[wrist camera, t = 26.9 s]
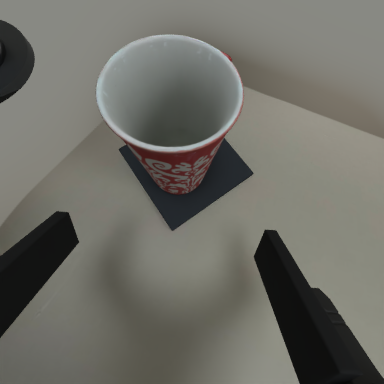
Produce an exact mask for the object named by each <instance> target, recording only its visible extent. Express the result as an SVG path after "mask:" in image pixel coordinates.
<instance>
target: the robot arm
mask: <svg viewBox="0 0 384 384" xmlns="http://www.w3.org/2000/svg"><path fill="white" fill-rule="evenodd" d="M4 58H5V46H4V44H3V42H2V40H1V39H0V66H1V65H2V63H3V61H4ZM78 243H79V241H78V238H77V235H76V232H75V229H74V226H73V224H72V221H71V218H70V215H69V212H59V211H56V212H55V213H54V214H53V215H51V216H50V217H49V218H48V219H46V220H45V221H44V222H43V223H41V224H40V225H39V226H38V227H36V228H35V229H34V230H33V231H31V232H30V233H29V234H28V235H26V236H25V237H24V238H23V239H21V240H20V241H19V242H18V243H16V244H15V245H14V246H13V247H11V248H10V249H9V250H8V251H6V252H5V253H4V254H3V255H1V256H0V338H1V336H2V335H3V334H4V333H5V331H6V330H7V329H8V328H9V327H10V325H11V324H12V323H13V322H14V321H15V319H16V318H17V317H18V316H19V314H20V313H21V312H22V311H23V310H24V308H25V307H26V306H27V305H28V304H29V302H30V301H31V300H32V299H33V297H34V296H35V295H36V294H37V293H38V291H39V290H40V289H41V288H42V287H43V285H44V284H45V283H46V282H47V281H48V279H49V278H50V277H51V276H52V274H53V273H54V272H55V271H56V270H57V268H58V267H59V266H60V265H61V264H62V262H63V261H64V260H65V259H66V257H67V256H68V255H69V254H70V253H71V251H72V250H73V249H74V248H75V247H76V245H77V244H78ZM254 259H255V262H256V264H257V267H258V270H259V273H260V275H261V278H262V281H263V284H264V286H265V289H266V292H267V295H268V298H269V300H270V303H271V306H272V309H273V311H274V314H275V317H276V320H277V322H278V325H279V328H280V331H281V333H282V336H283V339H284V342H285V344H286V347H287V350H288V353H289V355H290V358H291V361H292V364H293V367H294V369H295V372H296V375H297V378H298V380H299V383H300V384H384V378H383V377H382V376H381V375H380V373H379V372H378V371H377V369H376V368H375V366H374V365H373V363H372V362H371V360H370V359H369V357H368V356H367V354H366V353H365V351H364V350H363V348H362V347H361V345H360V344H359V342H358V341H357V339H356V338H355V336H354V335H353V333H352V332H351V330H350V329H349V327H348V326H347V325H346V324H345V321H344V320H343V318H342V317H341V315H340V314H338V311H337V309H336V308H335V306H334V305H333V303H332V302H331V300H330V299H329V298H328V297H327V296H326V295H325V294H324V293H323V292H322V291H321V290H320V289H319V288H311V287H310V285H309V284H308V282H307V280H306V279H305V277H304V276H303V274H302V272H301V271H300V269H299V267H298V266H297V264H296V262H295V261H294V259H293V257H292V256H291V254H290V252H289V251H288V249H287V247H286V246H285V244H284V243H283V241H282V239H281V238H280V236H279V234H278V233H277V231H275V230H265V231H264V233H263V236H262V238H261V241H260V243H259V245H258V248H257V250H256V253H255V255H254Z"/></svg>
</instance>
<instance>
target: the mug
mask: <svg viewBox="0 0 384 384" xmlns="http://www.w3.org/2000/svg"><path fill="white" fill-rule="evenodd" d="M243 100H244V91H243V84H242V80H241V78H240V75H239V73H238V71H237V69H236V67H235V66H234V65H233V63H232V59H231V57H230V56H229V55H227V54H226V53H224V52H222V51H219V50H217V49H216V48H215V47H213V46H211V45H209V44H207V43H205V42H203V41H200V40H197V39H194V38H191V37H187V36H182V35H171V34H170V35H169V34H168V35H166V34H164V35H155V36H150V37H145V38H142V39H139V40H136V41H134V42H132V43H130V44H128V45H126V46H125V47H123V48H121V49H120V50H119V51H117V52H116V53H115V54H114V55H113V56H112V57H111V58H110V59H109V60H108V61H107V63H106V64H105V66H104V67H103V69H102V71H101V73H100V75H99V77H98V81H97V86H96V101H97V105H98V108H99V111H100V113H101V116H102V117H103V119H104V121H105V122H106V124H107V125H108V126H109V128H110V129H111V130H112V131H113V132H114V133H115V134H116V135H117V136H119V137H120V138H121V139H123V141H124V142H125V143H126V144H127V146H128V147H129V148H130V150H131V151H132V152H133V154H134V155H135V156H136V158H137V159H138V160H139V161H140V162H141V164H142V165H143V166H144V168H145V169H146V171H147V172H148V173H149V174H150V176H151V177H152V178H153V180H154V181H155V182H156V184H157V185H158V186H159V187H160V188H161V189H163V190H164V191H166V192H168V193H171V194H176V195H180V194H186V193H189V192H191V191H193V190H194V189H195V188H197V187H198V185H199V184H200V183H201V181H202V180H203V178H204V176H205V173H206V172H207V170H208V168H209V166H210V164H211V162H212V160H213V158H214V156H215V154H216V152H217V151H218V149H219V147H220V145H221V143H222V141H223V139H224V137H225V135H226V133H227V132H228V131H229V130H230V129H231V128H232V127H233V125H234V124H235V122H236V121H237V119H238V117H239V115H240V113H241V110H242V106H243Z"/></svg>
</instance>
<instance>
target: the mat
mask: <svg viewBox="0 0 384 384" xmlns="http://www.w3.org/2000/svg"><path fill="white" fill-rule="evenodd" d="M119 151H120V152H121V154H122V155H123V157H124V158H125V160H126V161H127V163H128V164H129V166H130V168H131V169H132V171H133V172H134V174H135V175H136V177H137V178H138V180H139V181H140V183H141V184H142V186H143V187H144V189H145V190H146V192H147V193H148V195H149V196H150V198H151V200H152V201H153V203H154V204H155V206H156V207H157V209H158V210H159V212H160V213H161V215H162V216H163V218H164V219H165V221H166V222H167V224H168V225H169V227H170V228H171V230H172V231H173V230H174V229H176V228H177V227H179V226H180V225H182V224H183V223H184V222H186V221H187V220H189V219H190V218H192V217H193V216H194V215H196V214H197V213H199V212H200V211H201V210H203V209H204V208H206V207H207V206H209V205H210V204H211V203H213V202H214V201H216V200H217V199H219V198H220V197H221V196H223V195H224V194H226V193H227V192H228V191H230V190H231V189H233V188H234V187H236V186H237V185H238V184H240V183H241V182H243V181H244V180H246V179H247V178H248V177H250V176H251V175H252V174H253V172H252V171H251V169H250V168H249V167H248V166H247V165H246V164H245V162H244V161H243V160H242V159H241V158H240V156H239V155H238V154H237V153H236V152H235V150H234V149H233V148H232V147H231V146H230V144H229V143H228V142H227V141H226V140H225V138H224V139H223V141H222V143H221V145H220V147H219V149H218V151H217V152H216V154H215V156H214V158H213V160H212V162H211V164H210V166H209V168H208V170H207V172H206V173H205V176H204V178H203V180H202V181H201V183H200V184H199V185H198V187H197V188H195V189H194V190H193V191H191V192H189V193H186V194H180V195H176V194H171V193H168V192H166V191H164V190H163V189H161V188H160V187H159V186H158V185H157V184H156V182H155V181H154V180H153V178H152V177H151V176H150V174H149V173H148V172H147V171H146V169H145V168H144V166H143V165H142V164H141V162H140V161H139V160H138V159H137V158H136V156H135V155H134V154H133V152H132V151H131V150H130V148H129V147H128V146H127V145H125V146H123V147H121V148H120V149H119Z"/></svg>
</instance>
